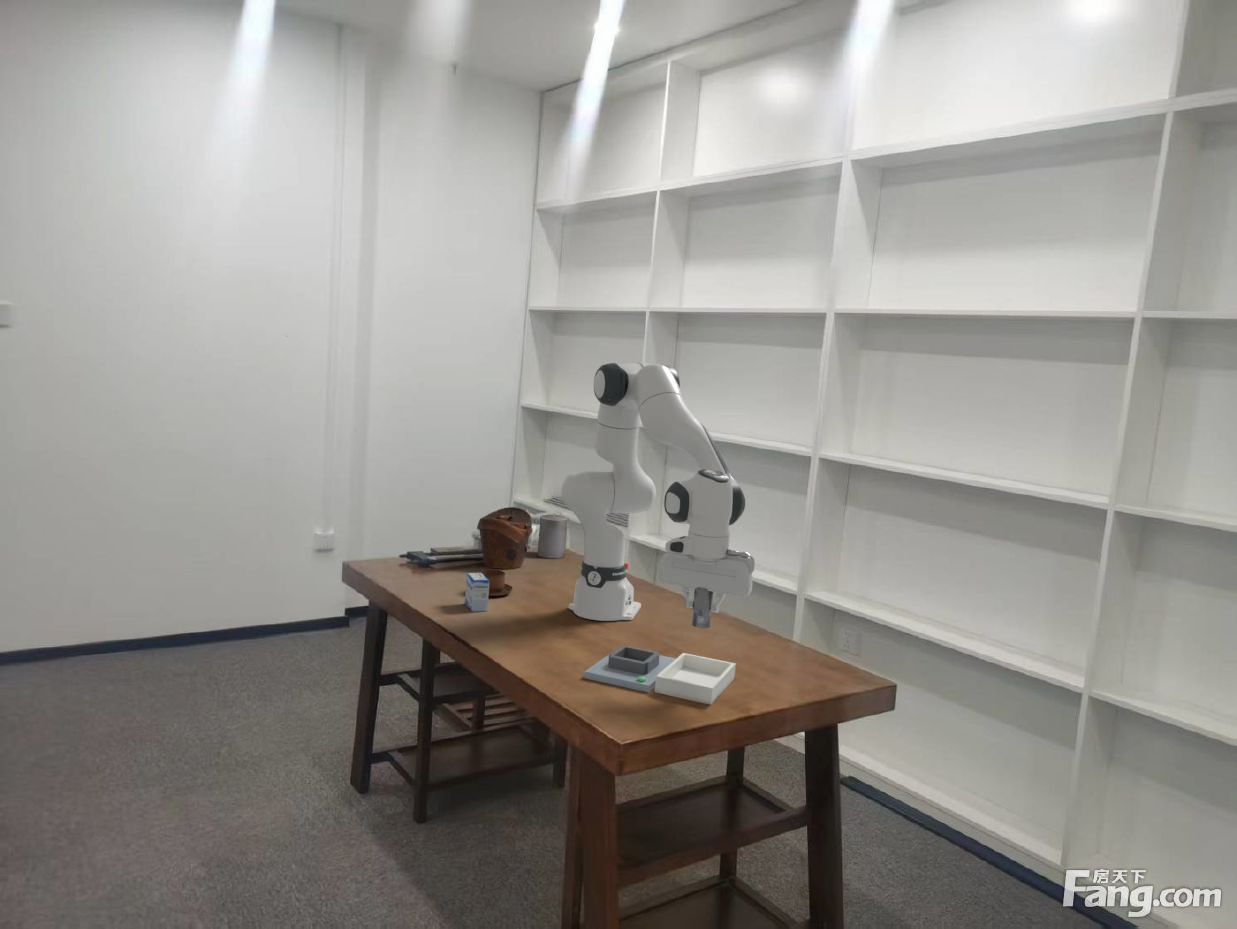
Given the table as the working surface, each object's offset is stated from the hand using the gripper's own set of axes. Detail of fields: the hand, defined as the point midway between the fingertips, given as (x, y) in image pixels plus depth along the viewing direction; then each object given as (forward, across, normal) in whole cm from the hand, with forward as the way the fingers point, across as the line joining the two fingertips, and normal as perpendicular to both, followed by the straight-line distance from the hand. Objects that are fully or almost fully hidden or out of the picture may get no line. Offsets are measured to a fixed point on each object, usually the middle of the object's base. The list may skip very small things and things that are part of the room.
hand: (702, 609), depth 190 cm
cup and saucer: (+17, +74, -37) cm, 84 cm away
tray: (+17, 0, 0) cm, 17 cm away
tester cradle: (+17, +15, 0) cm, 22 cm away
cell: (+3, 0, 0) cm, 3 cm away
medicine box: (+17, +69, -22) cm, 75 cm away
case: (+17, +88, -69) cm, 113 cm away
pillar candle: (+17, +82, -92) cm, 125 cm away
